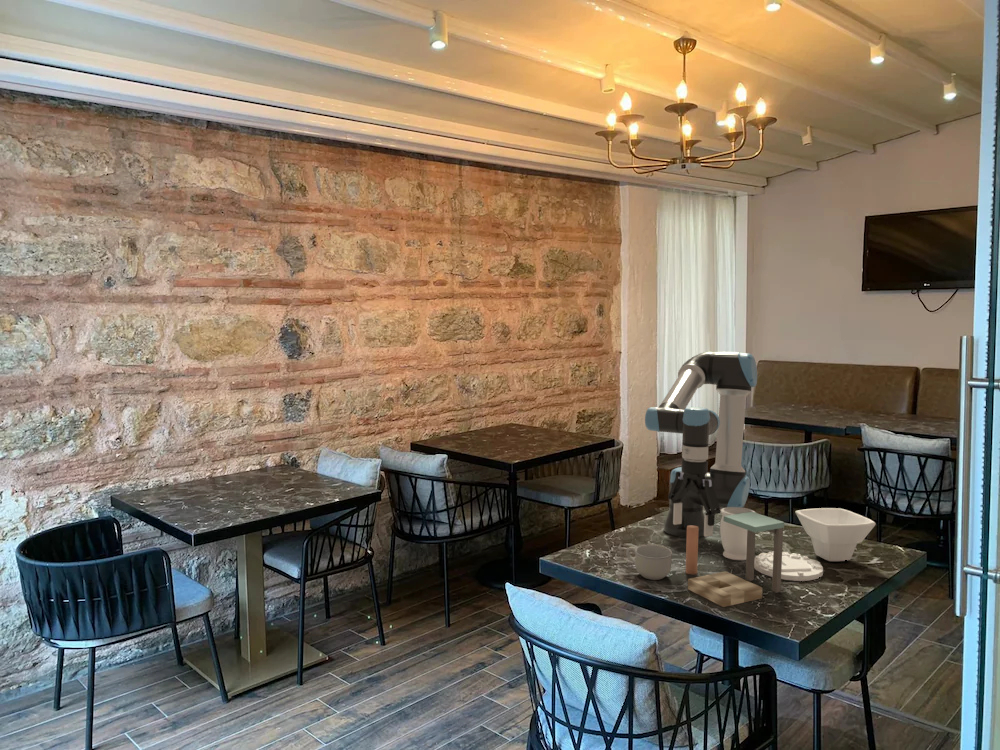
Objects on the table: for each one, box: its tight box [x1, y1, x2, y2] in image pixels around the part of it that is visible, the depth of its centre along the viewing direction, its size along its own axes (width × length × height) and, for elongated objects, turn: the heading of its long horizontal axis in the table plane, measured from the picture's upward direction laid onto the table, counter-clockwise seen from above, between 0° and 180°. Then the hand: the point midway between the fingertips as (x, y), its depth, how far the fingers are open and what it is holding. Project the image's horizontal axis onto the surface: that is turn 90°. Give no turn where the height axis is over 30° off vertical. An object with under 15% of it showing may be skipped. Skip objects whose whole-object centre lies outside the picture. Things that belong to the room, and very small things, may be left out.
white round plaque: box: [754, 550, 824, 582], centre depth 224 cm, size 20×20×3 cm
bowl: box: [795, 507, 876, 562], centre depth 234 cm, size 19×19×14 cm
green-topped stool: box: [723, 511, 785, 594], centre depth 209 cm, size 12×11×20 cm
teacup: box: [625, 543, 673, 581], centre depth 219 cm, size 14×11×8 cm
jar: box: [719, 507, 756, 561], centre depth 236 cm, size 11×10×15 cm
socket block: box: [687, 570, 763, 608], centre depth 205 cm, size 14×14×3 cm
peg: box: [685, 525, 699, 575], centre depth 221 cm, size 3×3×14 cm
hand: (692, 529), depth 220 cm, fingers open, 13 cm apart
